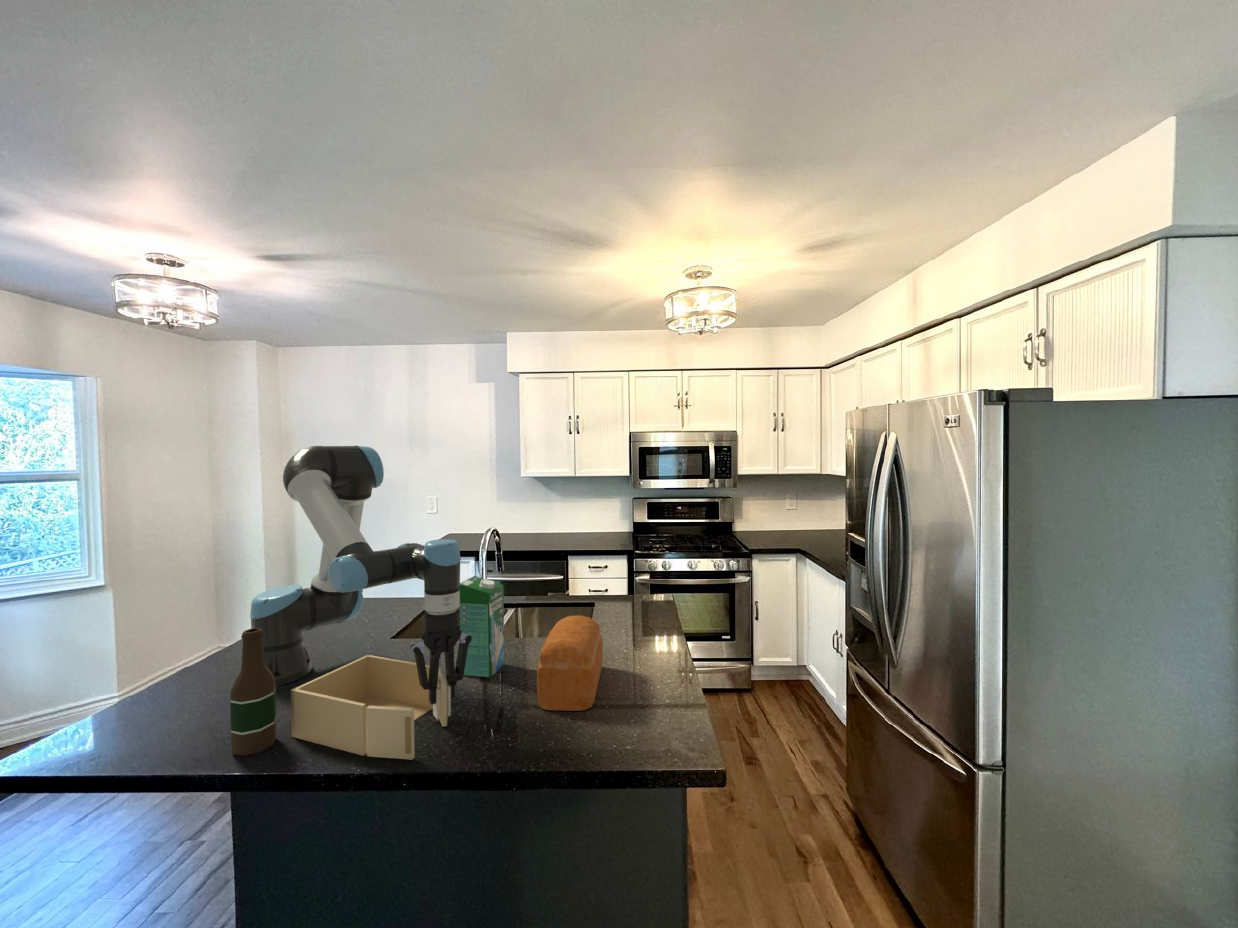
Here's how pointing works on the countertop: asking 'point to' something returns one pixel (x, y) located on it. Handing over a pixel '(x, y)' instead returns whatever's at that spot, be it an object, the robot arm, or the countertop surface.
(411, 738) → the flap
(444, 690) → the flap
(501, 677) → the countertop surface
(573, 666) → the bread
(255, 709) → the beer bottle
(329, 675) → the carton
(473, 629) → the milk carton
